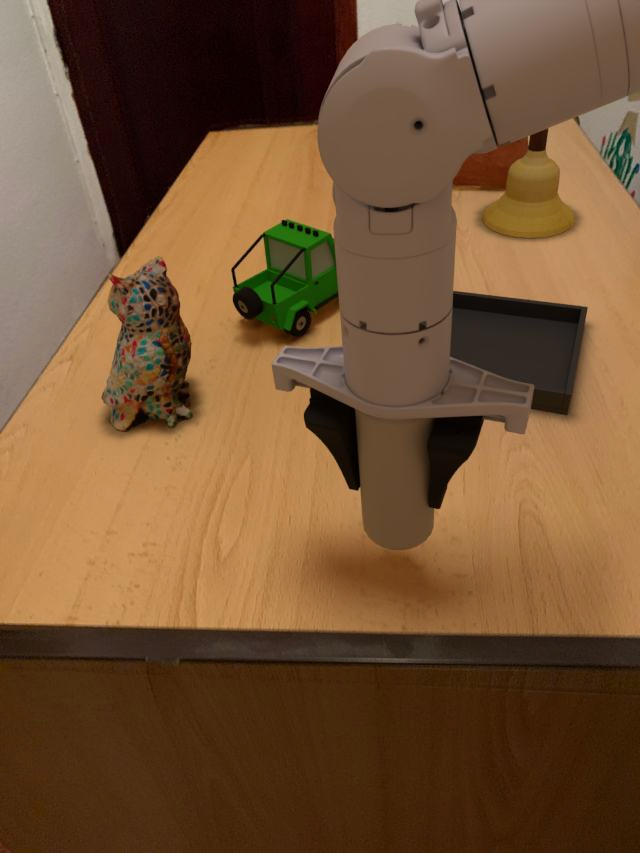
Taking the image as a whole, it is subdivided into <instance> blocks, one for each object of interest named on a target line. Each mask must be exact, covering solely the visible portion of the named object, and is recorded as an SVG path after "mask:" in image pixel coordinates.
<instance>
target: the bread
mask: <svg viewBox="0 0 640 853" xmlns="http://www.w3.org/2000/svg"><path fill="white" fill-rule="evenodd" d="M496 138H497V137H496ZM497 143H498V140H497ZM528 148H529V136H527V137H525V138H522V139H520V140H517V141H515V142H512V143H510V144H507V145H505V146H502V147H500V145H499V143H498V149H495V150H493V151H490V152H487V153H482V154H471V155H470V156H469V157H468V158H467V159H466V160H465V161H464V162H463V164H462V166H461V168H460V170H459V171H458V173H457V175H456V176H455V178H454V179H453V183H452V186H465V187H467V186H468V187H488V188H489V187H490V188H506V182H507V177H508V172H509V169H510V167H511V165H512V164H513V163H514V162H516V161H517V160H518V159H521V158H523V157H524V156H525V155H526V153H527V151H528Z"/></svg>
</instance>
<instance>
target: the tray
mask: <svg viewBox="0 0 640 853" xmlns="http://www.w3.org/2000/svg"><path fill="white" fill-rule="evenodd" d="M588 308H589V307H588V306H583V305H575V304H569V303H560V302H559V303H558V302H550V301H543V300H535V299H525V298H517V297H508V296H499V295H493V294H484V293H475V292H468V291H458V290H453V309H452V327H451V346H450V357H452V358H455V359H457V360H460V361H462V362H465V363H467V364H470V365H473V366H475V367H478V368H480V369H483V370H485V371H488V372H491V373H493V374H496V375H498V376H501V377H504V378H507V379H510V380H514V381H518V382H523V383H528V384H533V385H534V392H533V398H532V404H531V409H534V410H539V411H545V412H551V413H557V414H563V415H568V414H569V410H570V405H571V401H572V395H573V391H574V385H575V381H576V380H575V379H576V374H577V370H578V363H579V358H580V353H581V348H582V341H583V336H584V332H585V326H586V319H587V315H588V314H587V313H588Z"/></svg>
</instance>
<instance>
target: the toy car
mask: <svg viewBox="0 0 640 853" xmlns="http://www.w3.org/2000/svg"><path fill="white" fill-rule="evenodd" d="M280 221H281V222H279V223H278V224H275V225H274V226H272V227H270V228H268V229H267V230H265V231H263V232H262V234H259V236H258V237H257V239H256V240H254V242H252V244H251V245H250V247H249V248H248V249H247V250H246V251H245V252H244V253H243V255H242V256H241V257H240V258H239V259H238V260H237V262H235V263H234V265H233V266H232V267H231V269H230V272H231V278H232V282H233V286H232V290H233V294H232V304H233V306H234V308H235V310H236V311H237V312H238V314H239V315H240V316H241V317H242V318H244V319H245V320H250V321H251V320H253V319H254V320H257V321H261V322H262V323H264V324H267V325H269V326H270V327H273V328H275V329H277V330H279V331H283V332H284V333H285V334H287V335H290V336H292V337H293V338H300V337H303V336H304V335H305V334H306V333H307V332H308V331H309V329H310V327H311V323H312V315H311V314H314V315H317V314H318V312H317V310H319V309H321V308H322V307H324V306H325V305H327V304H329V303H331V302H332V301H333V300H335V299H337V298H339V295H338V282H337V269H336V256H335V243H334V237H333V235H332V233H331V232H328V231H325V230H321V229H319V228H316V227H314V226H313V227H312V226H310V225H307V224H303V223H301V222H298V221H294V220H292V219H288V218H286V219H281V220H280ZM262 239H263V246H264V247H263V248H264V256H265V263H266V269H263V270H262V271H260V272H258V273H256V274H255V275H253V276H250V277H248V278H247V279H244V280H243V281H241V282H239V283H238V281H237V276H236V271H235V270H236V269H237V268H238V266H240V264H242V262H243V261H244V260H245V259H246V257H247V256H248V255H249V254H250V253H251V252H252V251H253V249H255V247H257V245H259V243H260V242H261V240H262Z"/></svg>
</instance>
